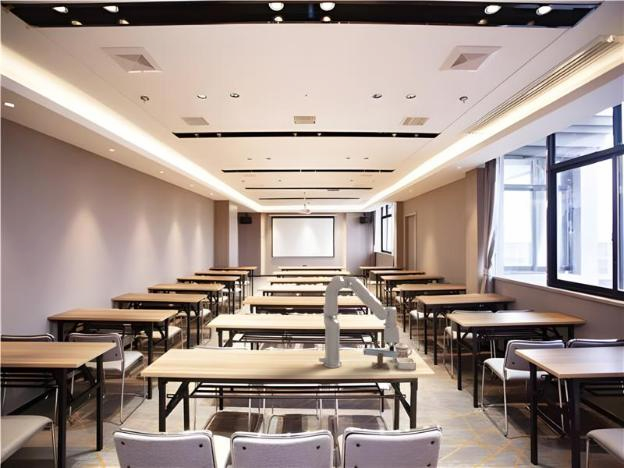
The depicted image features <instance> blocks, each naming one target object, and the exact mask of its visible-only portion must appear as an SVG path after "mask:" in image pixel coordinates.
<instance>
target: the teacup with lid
mask: <svg viewBox="0 0 624 468" xmlns="http://www.w3.org/2000/svg"><path fill="white" fill-rule="evenodd" d="M394 349H395V351H396V353H397V358H409V356H411V355H412V354H413V350H412V348H410V347H409V346H408V345H407V344H404V342H403V341H402V342H400V343H399V344H396V345H395V346H394ZM409 351H410V352H409Z"/></svg>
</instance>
